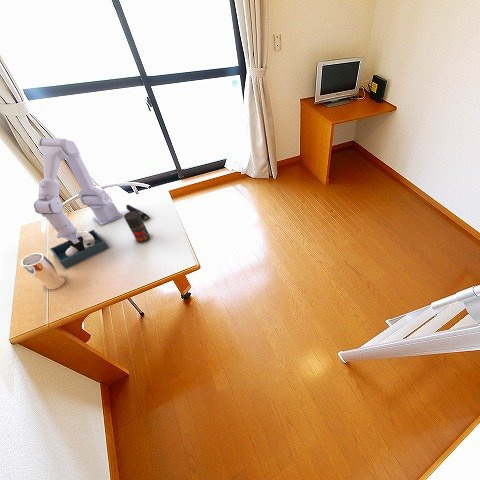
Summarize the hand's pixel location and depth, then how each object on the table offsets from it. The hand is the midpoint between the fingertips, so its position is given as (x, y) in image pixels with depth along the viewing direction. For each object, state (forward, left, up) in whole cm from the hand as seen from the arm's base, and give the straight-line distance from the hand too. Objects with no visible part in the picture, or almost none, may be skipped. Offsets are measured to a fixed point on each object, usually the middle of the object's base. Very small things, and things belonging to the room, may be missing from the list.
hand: (78, 246), depth 124 cm
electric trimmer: (-29, -8, -4) cm, 30 cm away
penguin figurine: (0, 0, -3) cm, 3 cm away
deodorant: (-22, +11, -4) cm, 25 cm away
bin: (0, 0, -3) cm, 3 cm away
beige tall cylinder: (+14, +11, -4) cm, 18 cm away
